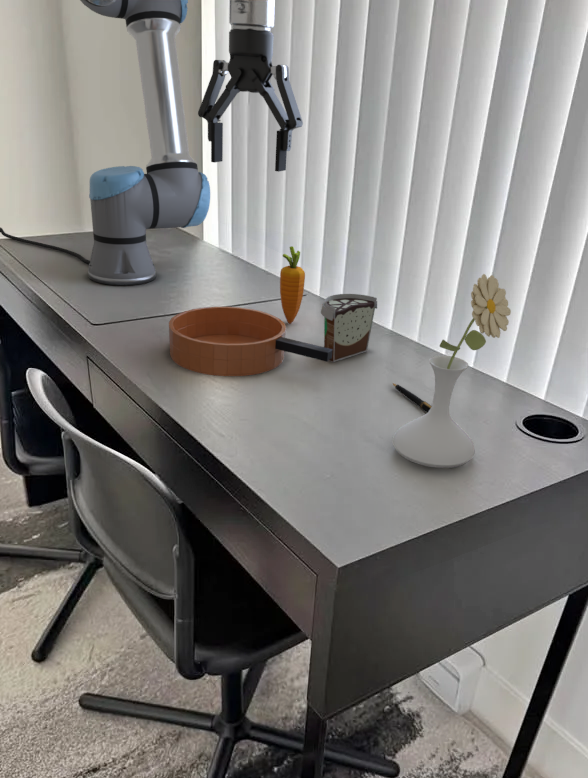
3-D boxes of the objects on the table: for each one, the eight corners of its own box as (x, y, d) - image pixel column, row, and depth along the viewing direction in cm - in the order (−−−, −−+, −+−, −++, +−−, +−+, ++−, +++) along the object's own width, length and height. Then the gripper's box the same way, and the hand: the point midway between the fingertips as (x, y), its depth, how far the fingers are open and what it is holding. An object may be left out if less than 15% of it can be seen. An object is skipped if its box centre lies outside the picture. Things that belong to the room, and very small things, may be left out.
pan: (146, 358, 122) (144, 327, 119) (211, 327, 138) (211, 299, 135) (246, 386, 115) (247, 354, 112) (303, 350, 130) (305, 321, 127)
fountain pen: (388, 386, 118) (389, 378, 117) (394, 385, 118) (395, 377, 118) (439, 423, 107) (440, 414, 106) (445, 422, 108) (447, 413, 107)
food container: (347, 340, 136) (353, 289, 131) (372, 349, 133) (378, 297, 128) (303, 353, 129) (307, 299, 123) (327, 364, 125) (332, 308, 120)
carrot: (299, 328, 140) (304, 252, 133) (275, 325, 141) (278, 249, 133) (304, 321, 145) (309, 246, 137) (280, 318, 145) (284, 243, 138)
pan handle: (274, 348, 120) (274, 339, 119) (279, 345, 121) (280, 336, 121) (327, 361, 116) (327, 352, 115) (332, 358, 118) (332, 349, 117)
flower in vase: (418, 482, 92) (452, 291, 79) (375, 442, 100) (400, 265, 87) (499, 467, 96) (544, 285, 83) (451, 430, 105) (485, 261, 92)
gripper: (177, 24, 120) (180, 159, 131) (307, 31, 111) (298, 176, 122) (202, 27, 126) (202, 156, 137) (327, 34, 116) (317, 172, 127)
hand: (248, 166), depth 129 cm, fingers open, 13 cm apart
